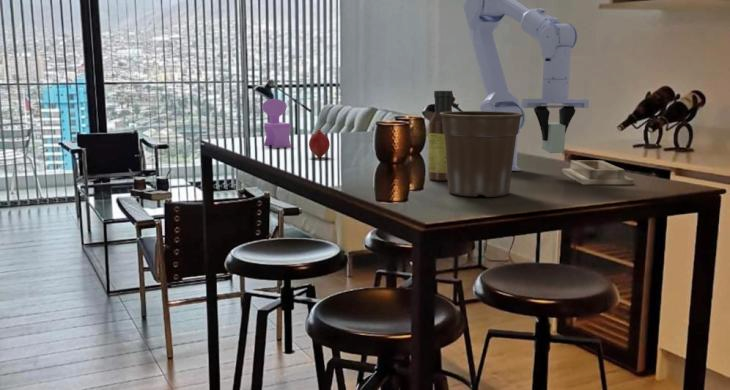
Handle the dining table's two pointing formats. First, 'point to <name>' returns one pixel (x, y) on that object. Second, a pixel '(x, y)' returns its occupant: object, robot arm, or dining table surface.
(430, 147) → the sauce bottle
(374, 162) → the dining table surface
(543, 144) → the pale teal block
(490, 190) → the plant pot
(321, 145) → the onion
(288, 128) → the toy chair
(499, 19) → the robot arm
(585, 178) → the beige rectangular tray
